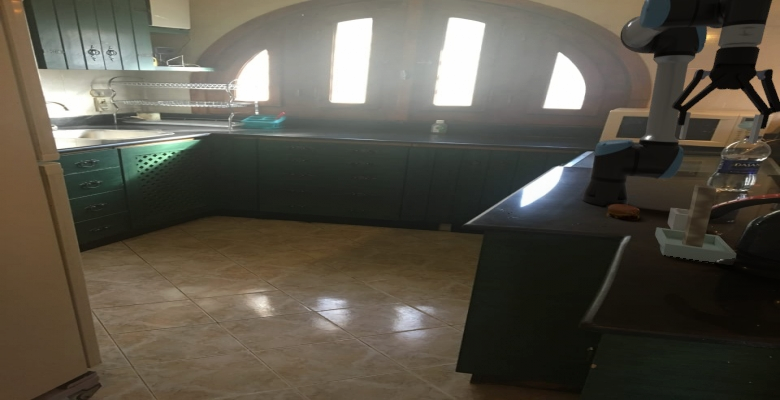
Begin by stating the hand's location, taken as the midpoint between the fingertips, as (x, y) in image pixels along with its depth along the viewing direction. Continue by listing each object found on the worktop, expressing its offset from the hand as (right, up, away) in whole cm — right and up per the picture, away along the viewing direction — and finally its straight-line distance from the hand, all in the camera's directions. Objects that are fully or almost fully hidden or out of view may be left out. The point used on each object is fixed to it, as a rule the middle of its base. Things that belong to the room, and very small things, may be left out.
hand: (716, 141), depth 95 cm
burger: (-3, -21, +34) cm, 40 cm away
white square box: (+9, -24, +22) cm, 34 cm away
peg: (-1, -26, +7) cm, 27 cm away
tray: (-1, -27, +7) cm, 28 cm away
